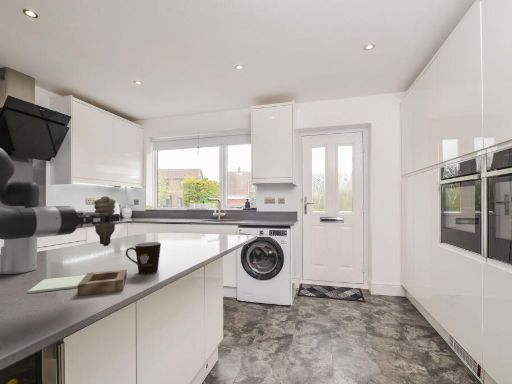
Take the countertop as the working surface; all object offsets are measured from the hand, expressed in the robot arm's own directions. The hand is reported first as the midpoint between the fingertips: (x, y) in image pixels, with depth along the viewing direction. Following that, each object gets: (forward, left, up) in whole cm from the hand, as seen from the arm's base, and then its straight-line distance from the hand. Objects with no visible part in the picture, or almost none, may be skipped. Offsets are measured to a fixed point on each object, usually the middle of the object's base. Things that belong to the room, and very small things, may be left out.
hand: (112, 217), depth 81 cm
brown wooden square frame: (-2, -2, -21) cm, 21 cm away
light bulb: (-2, -2, -9) cm, 9 cm away
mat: (-15, +6, -21) cm, 26 cm away
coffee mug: (+9, +11, -21) cm, 25 cm away
